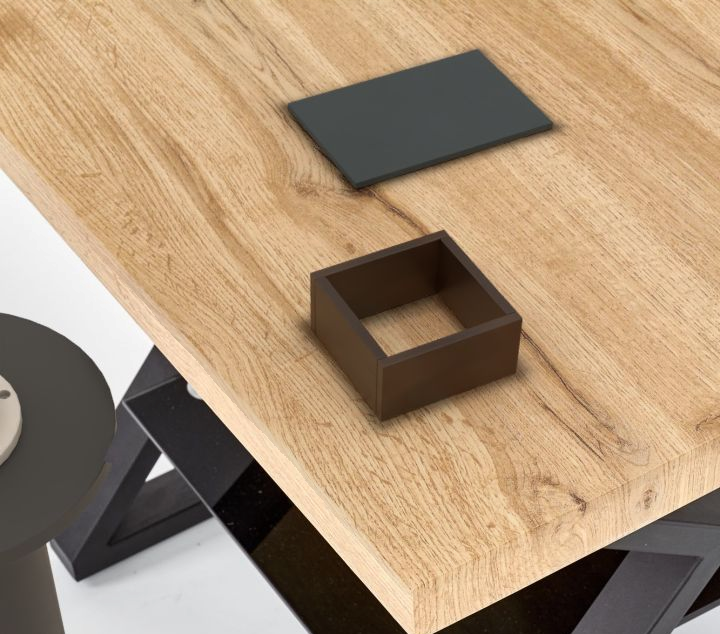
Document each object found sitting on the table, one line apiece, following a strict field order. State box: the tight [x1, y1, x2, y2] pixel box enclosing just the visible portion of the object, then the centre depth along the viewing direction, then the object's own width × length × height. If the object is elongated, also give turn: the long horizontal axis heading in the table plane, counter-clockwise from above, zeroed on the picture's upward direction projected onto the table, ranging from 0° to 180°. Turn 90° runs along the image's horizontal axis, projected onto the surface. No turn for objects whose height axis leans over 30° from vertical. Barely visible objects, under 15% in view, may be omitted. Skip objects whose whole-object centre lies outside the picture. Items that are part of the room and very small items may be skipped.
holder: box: [309, 229, 524, 423], centre depth 108 cm, size 11×11×5 cm
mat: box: [287, 48, 554, 190], centre depth 128 cm, size 18×12×1 cm, turn 118°
